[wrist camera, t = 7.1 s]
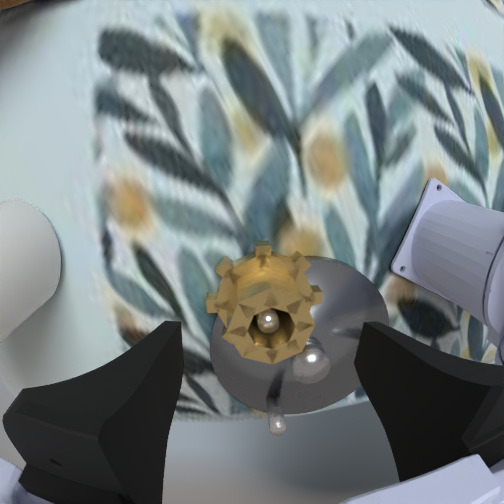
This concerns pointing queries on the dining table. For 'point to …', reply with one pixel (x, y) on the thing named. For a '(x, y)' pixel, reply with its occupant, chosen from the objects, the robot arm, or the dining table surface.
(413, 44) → the dining table surface
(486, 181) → the dining table surface
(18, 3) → the stone cup
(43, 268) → the alcohol
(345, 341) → the carrier
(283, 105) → the dining table surface
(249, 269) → the planet gear
